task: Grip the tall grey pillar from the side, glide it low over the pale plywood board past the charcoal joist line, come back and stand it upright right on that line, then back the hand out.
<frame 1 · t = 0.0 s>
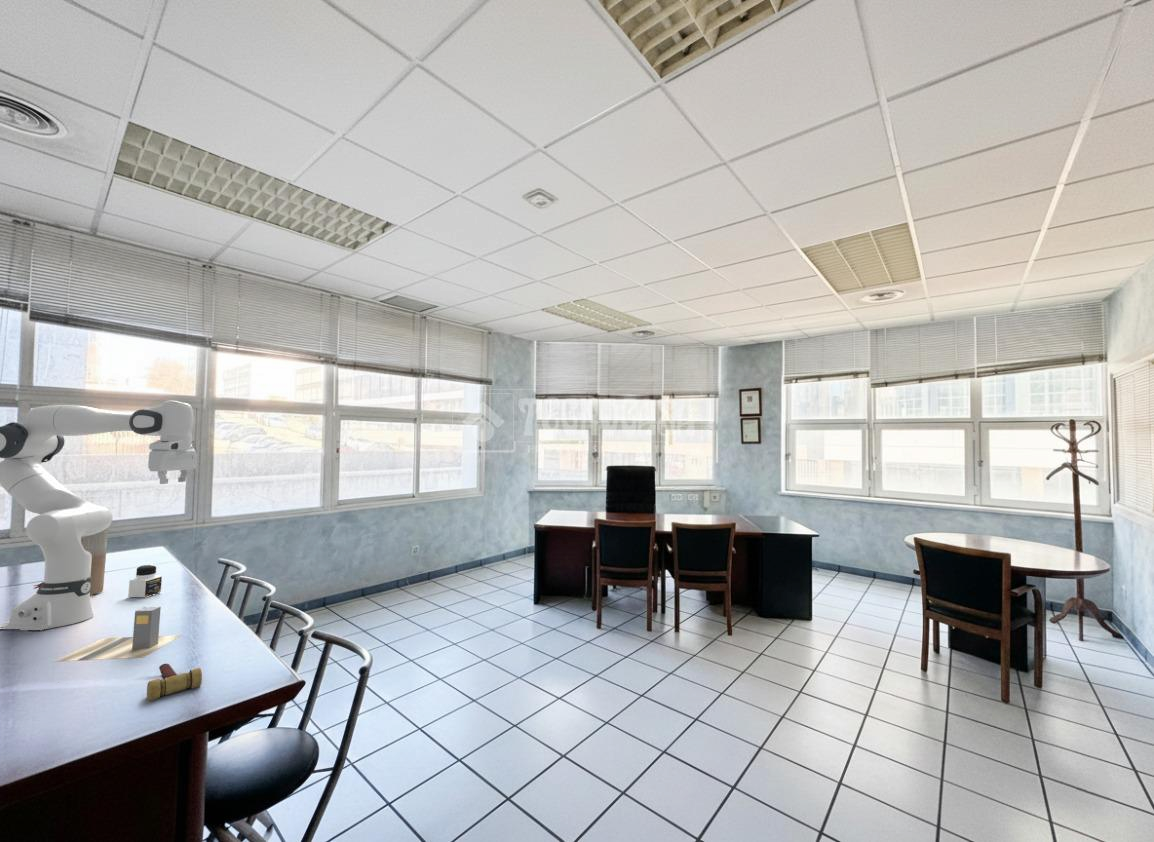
hand: (173, 482, 169), 48 cm above the table, tool pointing down, fingers open, 8 cm apart
gavel: (168, 683, 122), on the table
medicine bottle: (144, 595, 190), on the table
tall grey pillar: (145, 646, 139), point 1 cm above the table, touching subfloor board
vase: (85, 594, 190), on the table
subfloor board: (122, 652, 138), on the table
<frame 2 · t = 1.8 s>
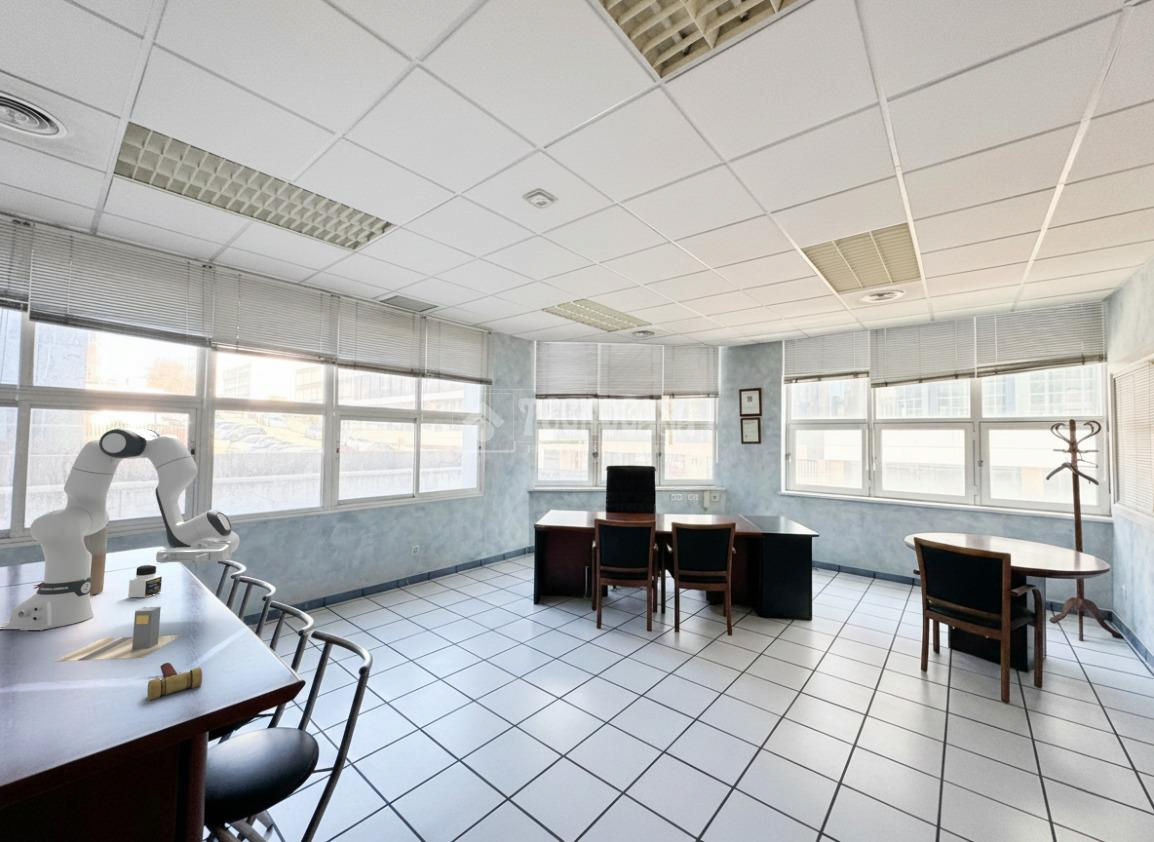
hand: (178, 560, 152), 24 cm above the table, tool horizontal, fingers open, 8 cm apart
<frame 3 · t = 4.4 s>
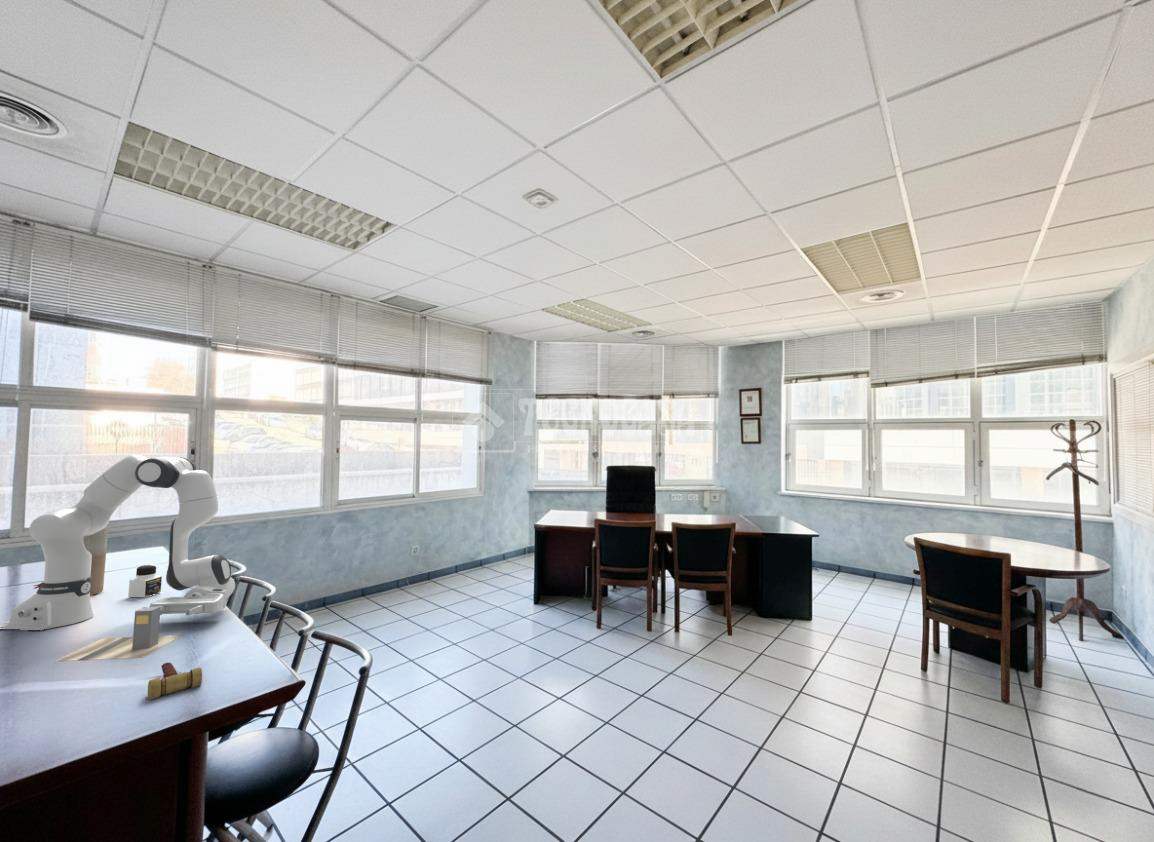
hand: (172, 613, 150), 8 cm above the table, tool horizontal, fingers open, 8 cm apart
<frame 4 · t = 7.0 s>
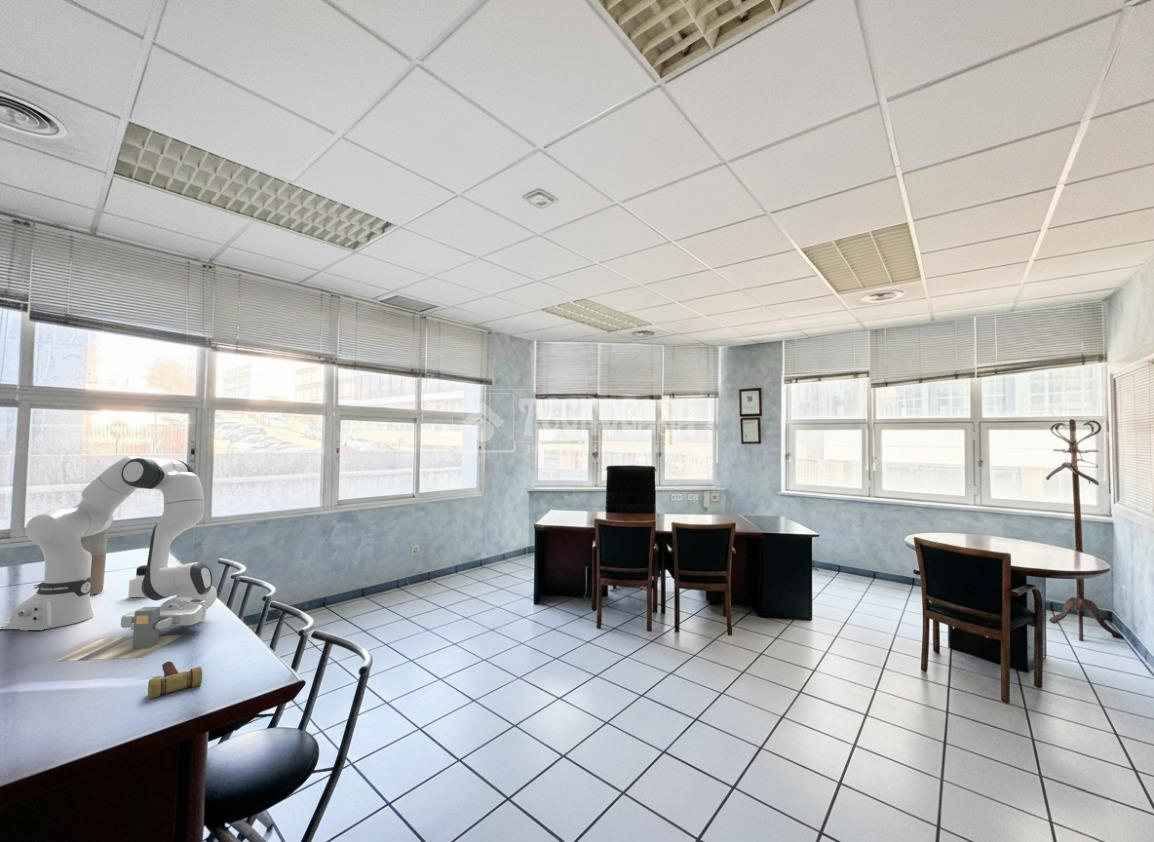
hand: (144, 626, 139), 8 cm above the table, tool horizontal, fingers closed on tall grey pillar, 4 cm apart
tall grey pillar: (145, 646, 139), point 2 cm above the table, touching gripper, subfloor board
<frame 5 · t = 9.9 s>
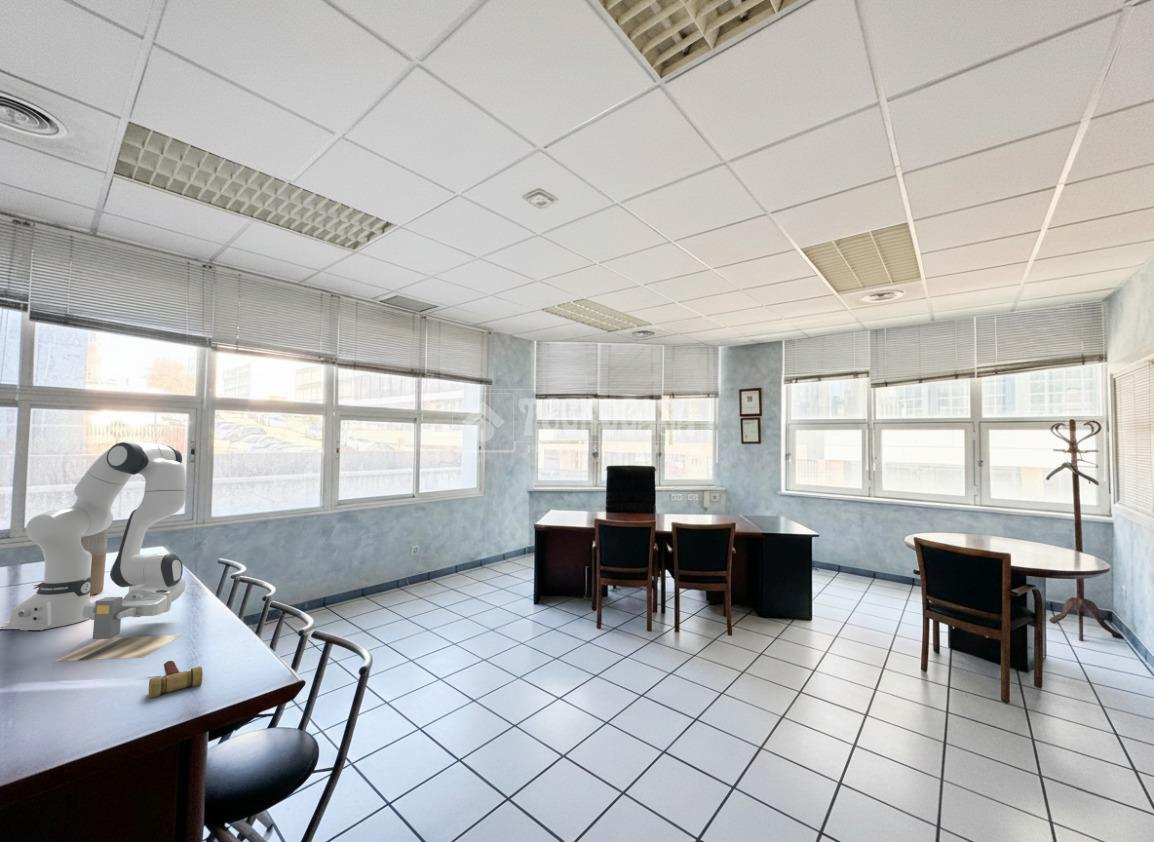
hand: (105, 616, 137), 11 cm above the table, tool horizontal, fingers closed on tall grey pillar, 4 cm apart
tall grey pillar: (106, 636, 138), point 5 cm above the table, touching gripper
when the fingers open (9 cm above the table, at t = 13.2 s): tall grey pillar drops 1 cm, resting on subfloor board.
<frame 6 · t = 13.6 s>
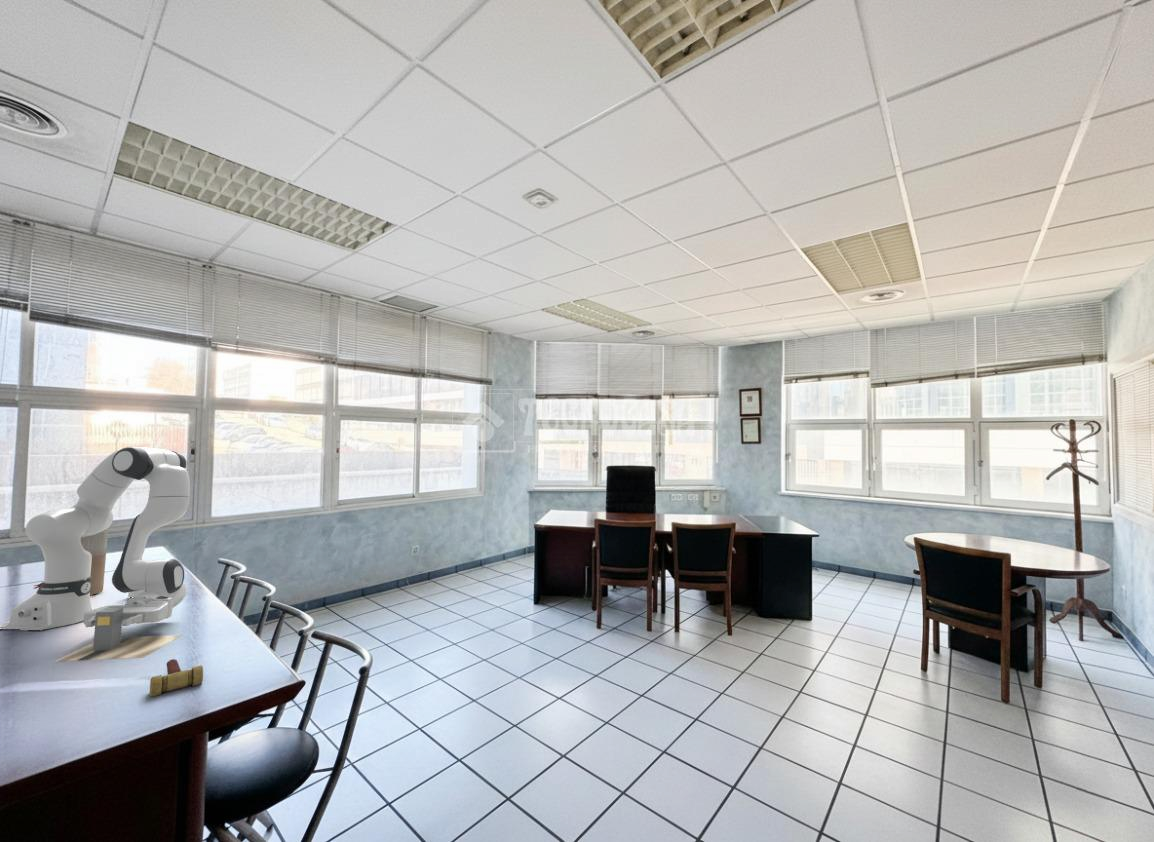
hand: (106, 623, 137), 9 cm above the table, tool horizontal, fingers open, 8 cm apart
tall grey pillar: (106, 647, 138), point 1 cm above the table, touching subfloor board
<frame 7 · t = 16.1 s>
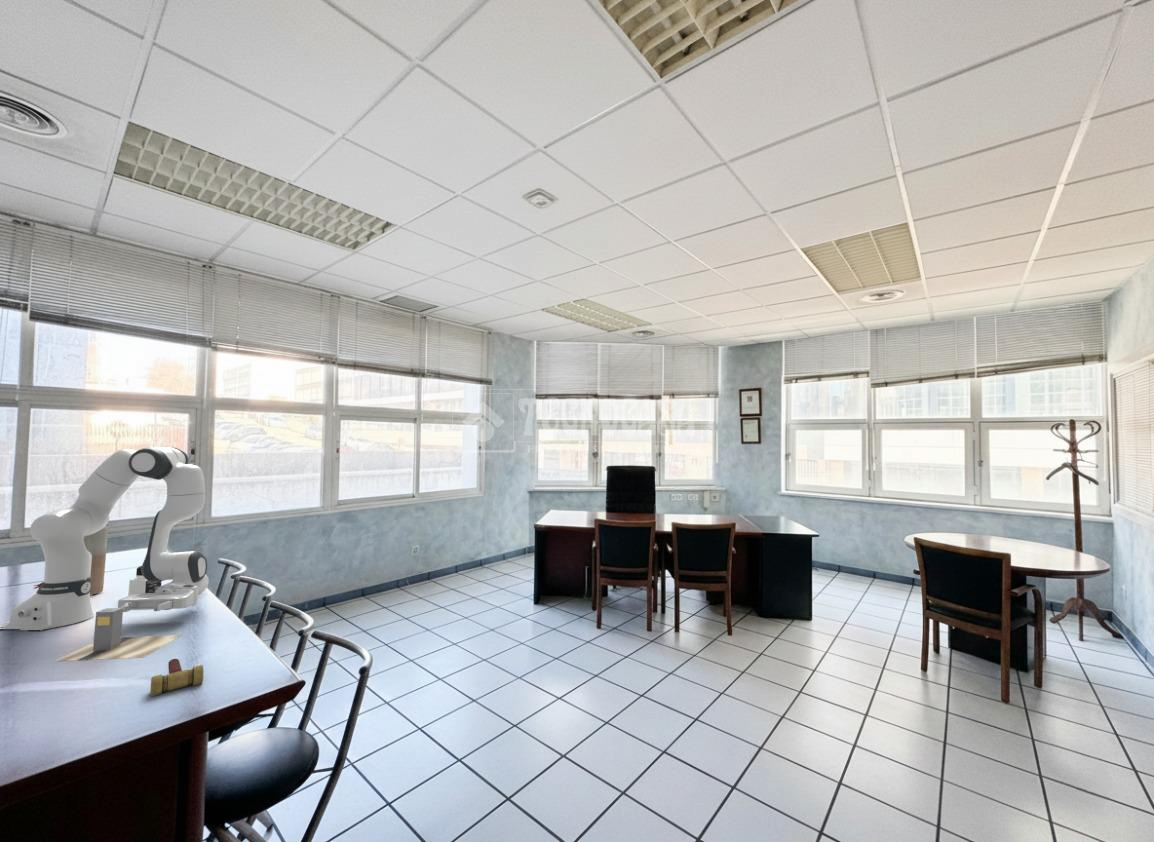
hand: (139, 609, 150), 9 cm above the table, tool horizontal, fingers open, 8 cm apart
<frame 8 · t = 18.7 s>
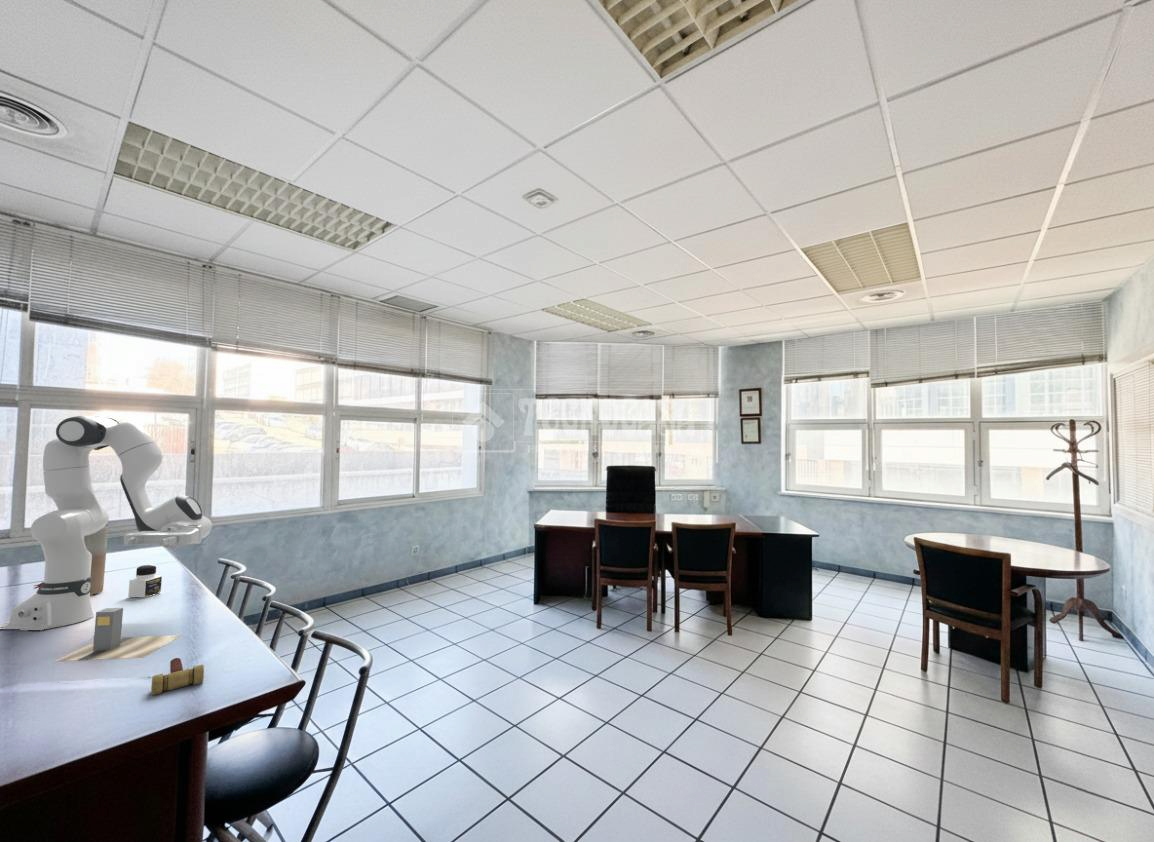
hand: (145, 542, 151), 30 cm above the table, tool horizontal, fingers open, 8 cm apart
at the end: tall grey pillar 0.1 cm from the target spot on the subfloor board, point 1.5 cm above the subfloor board's base; tall grey pillar tilted 0°; the gripper is holding nothing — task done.
